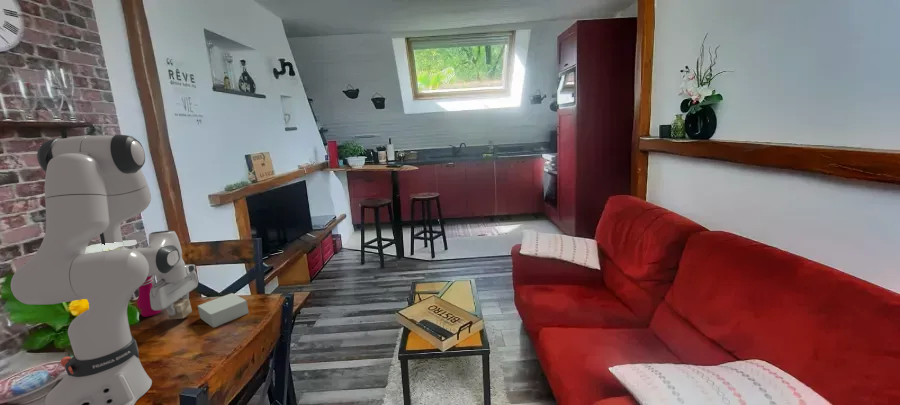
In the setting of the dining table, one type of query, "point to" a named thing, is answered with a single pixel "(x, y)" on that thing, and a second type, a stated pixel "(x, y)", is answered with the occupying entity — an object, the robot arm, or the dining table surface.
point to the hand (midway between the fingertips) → (179, 309)
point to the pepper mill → (146, 298)
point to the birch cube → (181, 309)
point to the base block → (223, 309)
